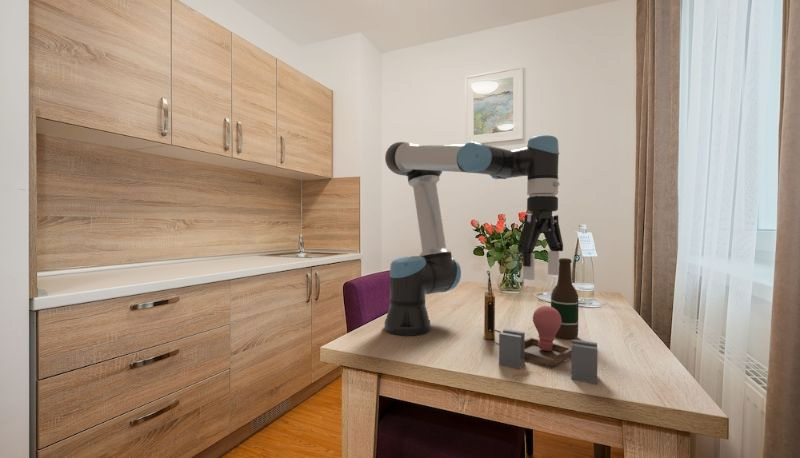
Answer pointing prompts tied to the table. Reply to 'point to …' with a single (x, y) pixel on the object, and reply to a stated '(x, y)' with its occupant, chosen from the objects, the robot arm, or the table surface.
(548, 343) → the light bulb
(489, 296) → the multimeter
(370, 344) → the table surface
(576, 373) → the grey flat block
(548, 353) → the shallow rectangular tray
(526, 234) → the robot arm
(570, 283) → the beer bottle
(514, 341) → the grey block
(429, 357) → the table surface
